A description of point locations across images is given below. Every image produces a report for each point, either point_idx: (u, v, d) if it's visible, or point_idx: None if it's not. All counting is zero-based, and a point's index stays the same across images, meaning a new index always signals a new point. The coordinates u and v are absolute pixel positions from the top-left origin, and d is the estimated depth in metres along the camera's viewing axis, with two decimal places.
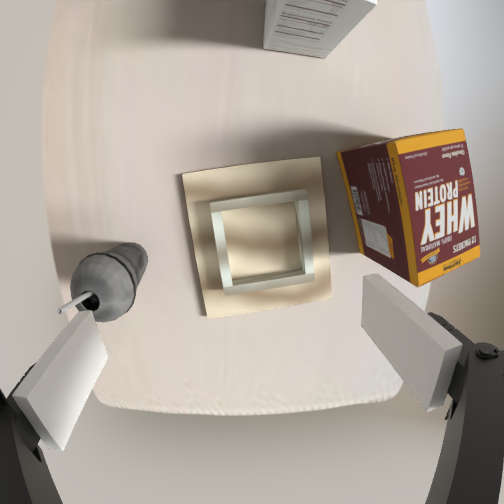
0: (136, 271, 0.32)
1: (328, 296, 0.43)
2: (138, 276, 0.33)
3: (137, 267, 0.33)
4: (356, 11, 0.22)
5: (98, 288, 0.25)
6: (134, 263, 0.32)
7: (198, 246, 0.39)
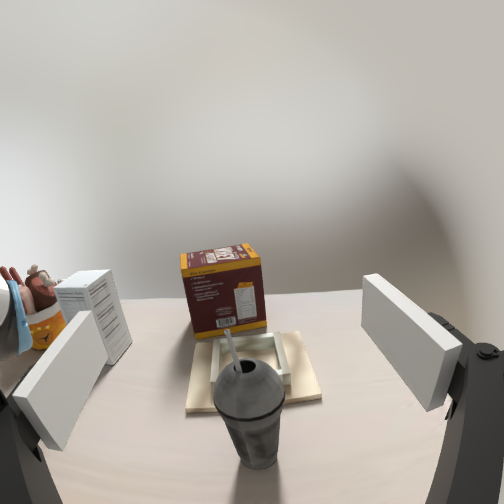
0: None
1: (297, 332, 0.57)
2: None
3: None
4: (111, 283, 0.54)
5: (233, 361, 0.28)
6: None
7: None
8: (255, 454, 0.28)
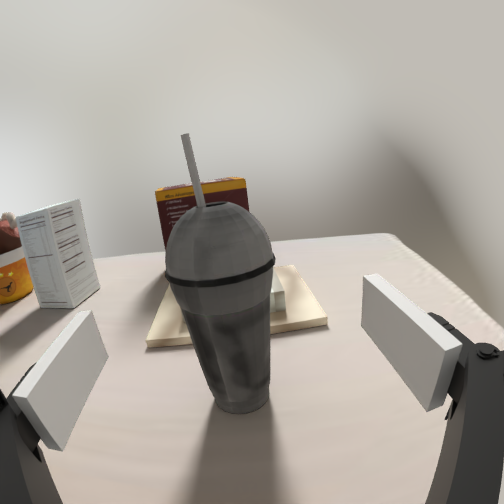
0: None
1: (291, 266, 0.49)
2: None
3: None
4: (78, 213, 0.46)
5: None
6: None
7: None
8: (232, 377, 0.19)
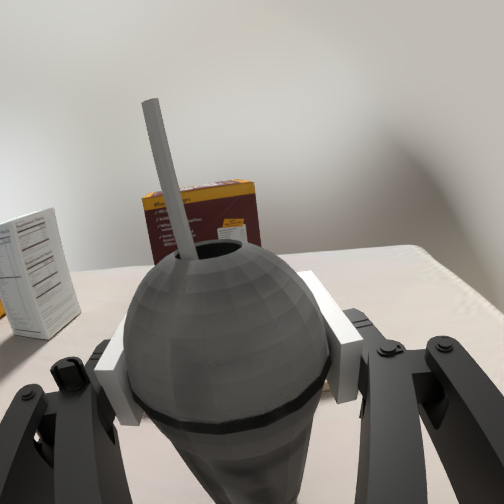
0: None
1: None
2: None
3: None
4: (52, 224, 0.36)
5: None
6: None
7: None
8: None
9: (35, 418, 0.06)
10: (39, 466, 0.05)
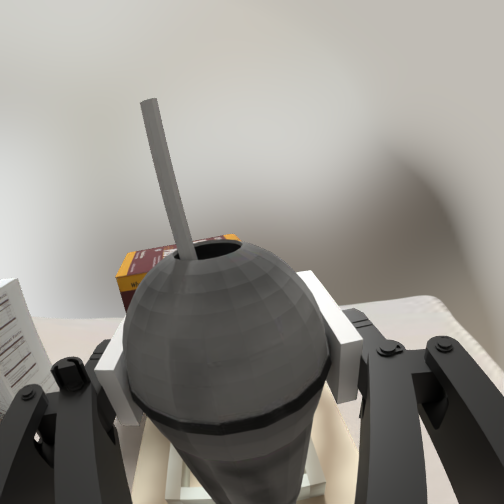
0: None
1: None
2: None
3: None
4: (17, 299, 0.28)
5: None
6: None
7: None
8: None
9: (35, 418, 0.06)
10: (39, 466, 0.05)
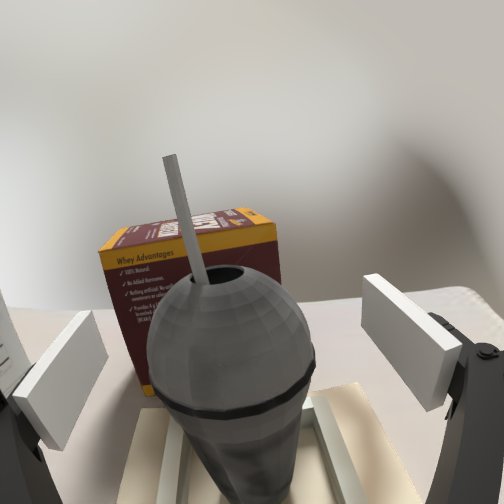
0: None
1: (356, 385, 0.24)
2: None
3: None
4: None
5: None
6: None
7: None
8: (248, 490, 0.12)
9: None
10: None
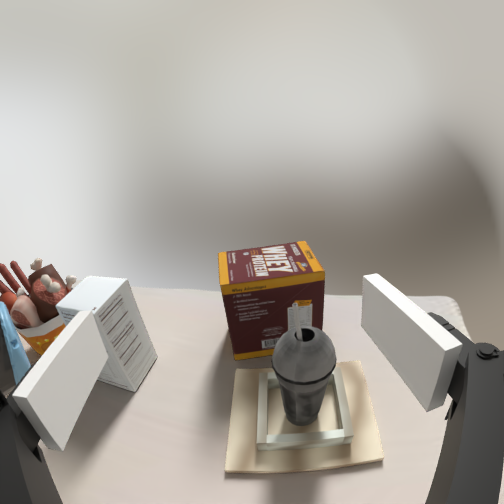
0: None
1: (358, 362, 0.44)
2: None
3: None
4: (128, 296, 0.43)
5: (294, 329, 0.32)
6: None
7: (302, 464, 0.30)
8: (302, 412, 0.33)
9: None
10: None
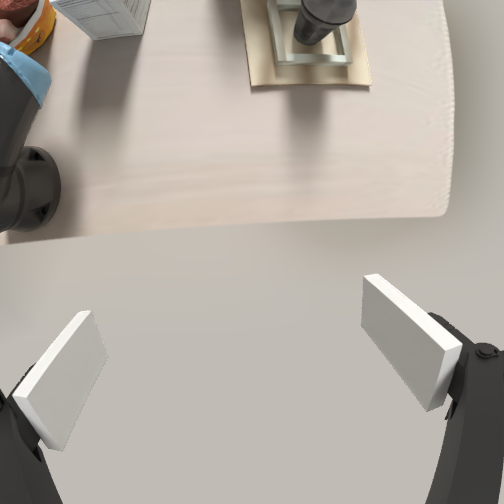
0: None
1: None
2: None
3: None
4: None
5: None
6: None
7: (312, 79, 0.41)
8: (315, 38, 0.35)
9: None
10: None
